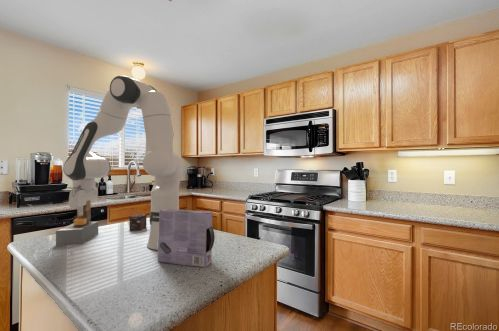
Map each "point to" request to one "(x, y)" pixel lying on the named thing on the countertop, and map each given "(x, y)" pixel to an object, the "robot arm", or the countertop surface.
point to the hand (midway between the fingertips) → (84, 214)
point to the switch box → (76, 233)
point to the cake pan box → (185, 237)
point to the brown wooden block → (86, 211)
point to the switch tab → (80, 221)
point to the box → (137, 222)
